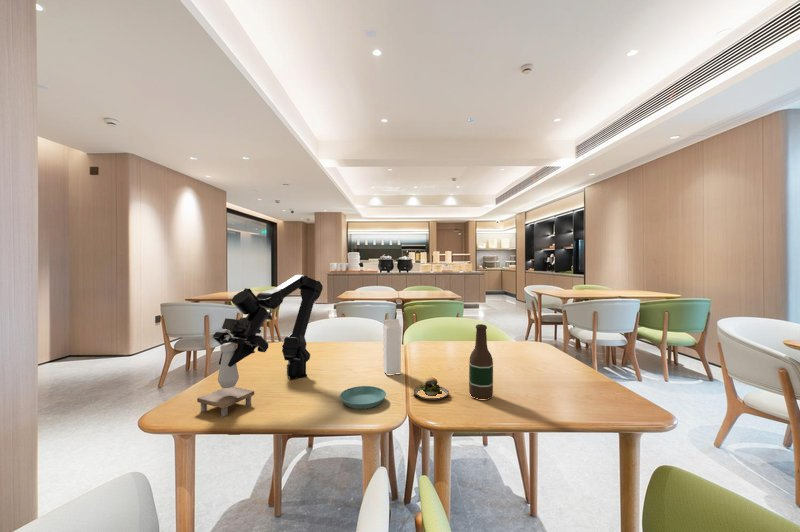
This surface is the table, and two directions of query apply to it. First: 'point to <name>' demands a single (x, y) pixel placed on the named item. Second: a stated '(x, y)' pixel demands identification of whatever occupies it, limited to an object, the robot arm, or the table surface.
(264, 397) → the table surface
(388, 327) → the milk
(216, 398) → the small stand
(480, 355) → the beer bottle
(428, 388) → the plate of food
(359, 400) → the saucer
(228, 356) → the salt shaker
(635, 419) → the table surface
